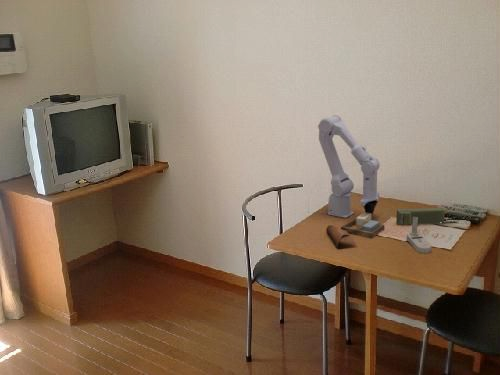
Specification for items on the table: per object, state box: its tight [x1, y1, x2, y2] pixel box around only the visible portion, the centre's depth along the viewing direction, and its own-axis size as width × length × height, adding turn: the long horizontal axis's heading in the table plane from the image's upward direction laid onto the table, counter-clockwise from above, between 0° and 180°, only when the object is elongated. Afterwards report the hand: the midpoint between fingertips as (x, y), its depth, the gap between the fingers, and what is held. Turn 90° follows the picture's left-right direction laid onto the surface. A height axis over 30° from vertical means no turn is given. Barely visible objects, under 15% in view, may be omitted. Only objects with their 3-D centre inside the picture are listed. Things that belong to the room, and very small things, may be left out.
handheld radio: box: [395, 207, 458, 226], centre depth 227 cm, size 7×3×25 cm
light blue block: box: [362, 219, 381, 232], centre depth 222 cm, size 8×4×3 cm, turn 139°
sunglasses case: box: [326, 225, 358, 250], centre depth 214 cm, size 18×7×7 cm
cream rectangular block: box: [355, 211, 372, 227], centre depth 230 cm, size 8×4×3 cm, turn 147°
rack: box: [340, 218, 386, 239], centre depth 223 cm, size 14×11×2 cm
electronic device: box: [406, 217, 432, 254], centre depth 205 cm, size 5×10×15 cm
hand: (369, 217), depth 235 cm, fingers closed
